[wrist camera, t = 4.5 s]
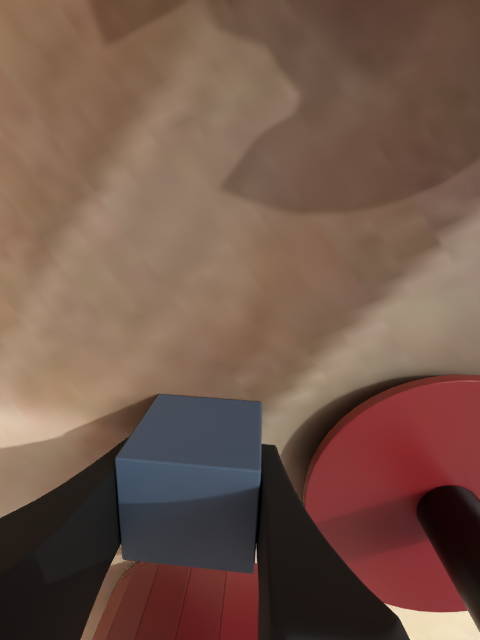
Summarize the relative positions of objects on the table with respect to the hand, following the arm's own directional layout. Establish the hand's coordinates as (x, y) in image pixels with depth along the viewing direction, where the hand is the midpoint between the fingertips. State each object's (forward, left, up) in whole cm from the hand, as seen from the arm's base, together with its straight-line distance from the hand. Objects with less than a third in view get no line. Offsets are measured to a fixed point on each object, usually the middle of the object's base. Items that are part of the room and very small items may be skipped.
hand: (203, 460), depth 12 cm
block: (0, 0, -1) cm, 1 cm away
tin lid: (-9, +4, -1) cm, 10 cm away
